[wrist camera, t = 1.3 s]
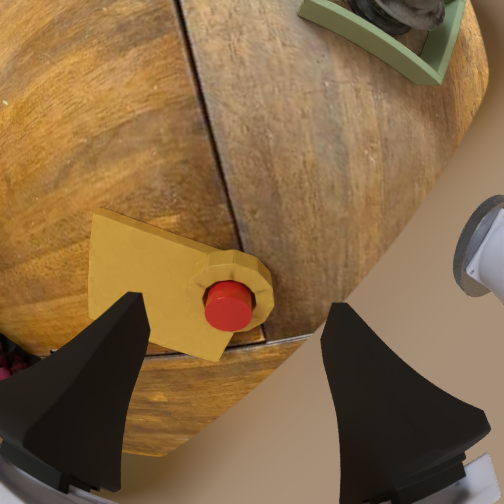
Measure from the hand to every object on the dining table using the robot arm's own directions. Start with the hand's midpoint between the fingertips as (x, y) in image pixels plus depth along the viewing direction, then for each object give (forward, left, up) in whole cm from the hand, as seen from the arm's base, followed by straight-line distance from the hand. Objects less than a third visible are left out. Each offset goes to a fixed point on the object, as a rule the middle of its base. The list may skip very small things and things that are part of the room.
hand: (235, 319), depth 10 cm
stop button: (-1, +5, -7) cm, 8 cm away
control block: (+4, +8, -10) cm, 13 cm away
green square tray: (-2, -19, -10) cm, 21 cm away
